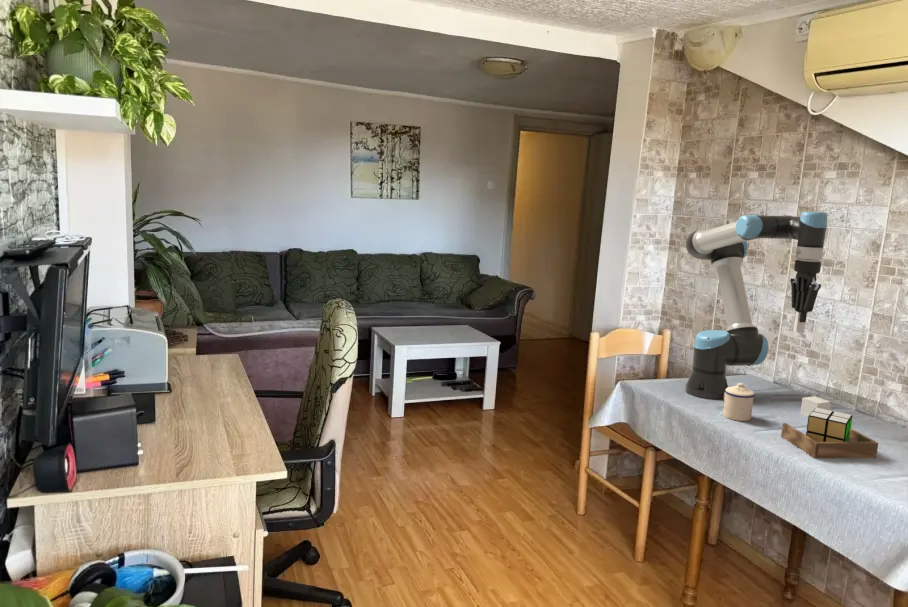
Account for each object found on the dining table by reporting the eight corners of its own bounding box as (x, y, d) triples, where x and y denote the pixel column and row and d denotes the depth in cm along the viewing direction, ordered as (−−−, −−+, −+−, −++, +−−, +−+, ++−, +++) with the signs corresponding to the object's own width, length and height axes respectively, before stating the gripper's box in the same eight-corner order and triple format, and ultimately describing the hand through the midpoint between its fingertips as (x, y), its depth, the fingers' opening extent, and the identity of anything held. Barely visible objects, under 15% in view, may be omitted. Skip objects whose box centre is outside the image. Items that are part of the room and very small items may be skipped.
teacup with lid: (757, 421, 212) (761, 387, 210) (733, 422, 210) (737, 388, 208) (735, 408, 224) (738, 376, 222) (711, 410, 222) (715, 377, 220)
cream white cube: (828, 418, 217) (830, 401, 216) (815, 420, 215) (818, 403, 214) (812, 412, 222) (815, 396, 221) (800, 414, 220) (802, 397, 219)
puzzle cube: (811, 437, 199) (815, 406, 197) (848, 446, 193) (852, 414, 191) (804, 447, 192) (808, 415, 190) (842, 456, 185) (847, 423, 184)
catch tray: (781, 436, 199) (782, 423, 198) (838, 436, 201) (840, 422, 200) (813, 458, 183) (815, 443, 182) (876, 457, 185) (878, 443, 184)
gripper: (785, 257, 213) (776, 326, 217) (809, 262, 200) (799, 335, 204) (807, 257, 213) (797, 326, 218) (832, 262, 200) (822, 336, 205)
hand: (798, 331), depth 211 cm, fingers closed
